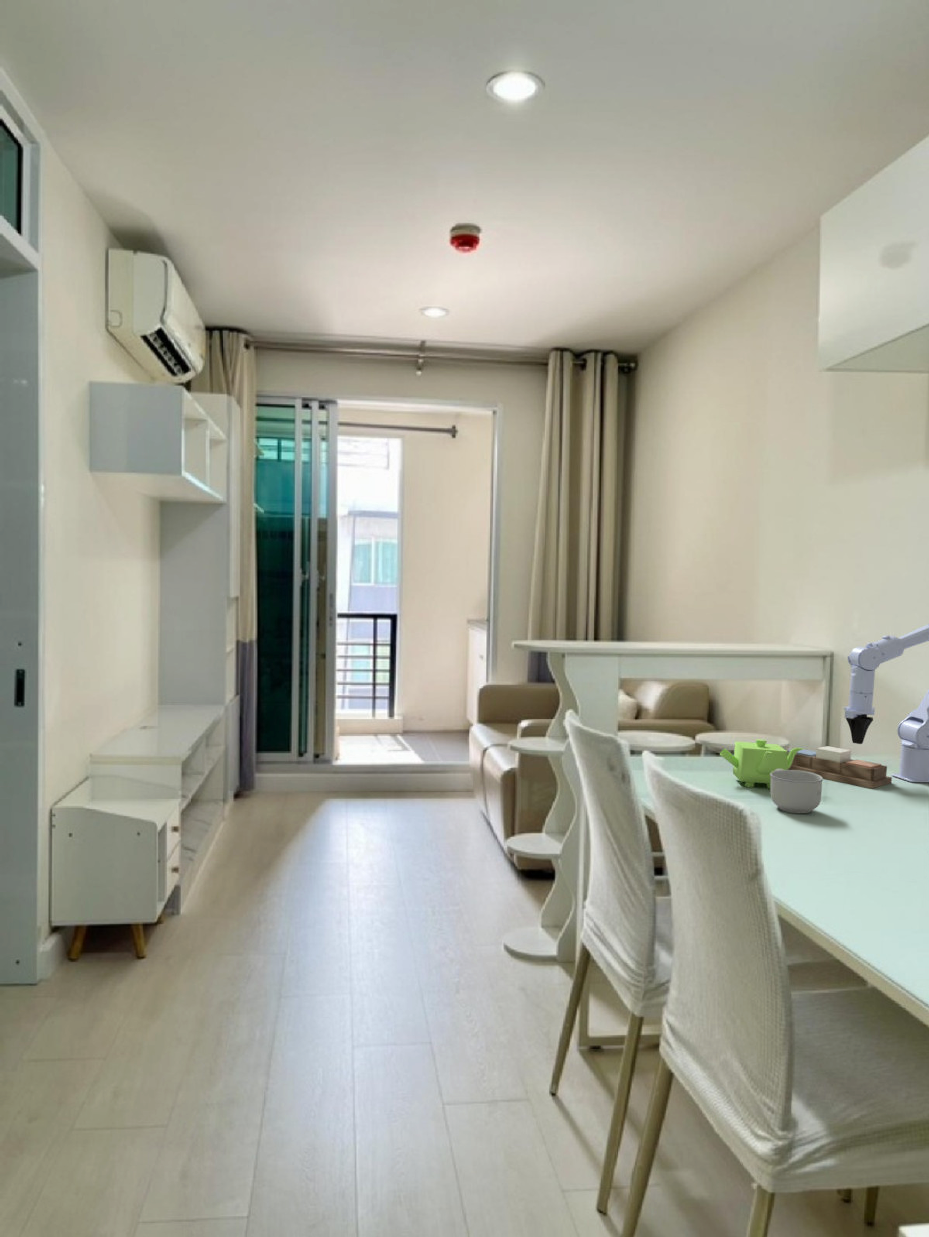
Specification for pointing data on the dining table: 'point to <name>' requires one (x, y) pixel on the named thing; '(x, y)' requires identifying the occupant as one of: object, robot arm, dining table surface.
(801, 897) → the dining table surface
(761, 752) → the kettle
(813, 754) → the slate blue key
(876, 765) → the terracotta key
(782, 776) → the teacup
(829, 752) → the cream key
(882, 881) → the dining table surface
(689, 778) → the dining table surface
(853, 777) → the wooden compartment tray
